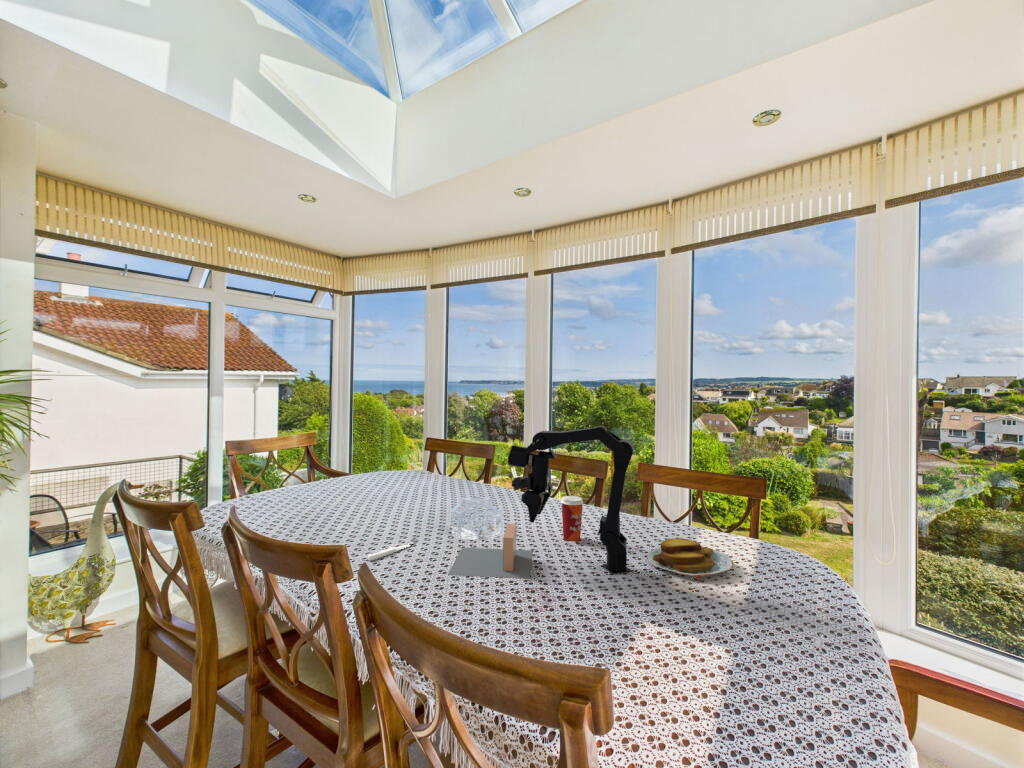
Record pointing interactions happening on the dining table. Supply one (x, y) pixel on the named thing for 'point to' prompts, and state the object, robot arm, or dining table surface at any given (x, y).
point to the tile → (509, 547)
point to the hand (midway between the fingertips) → (535, 518)
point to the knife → (385, 552)
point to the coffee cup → (572, 517)
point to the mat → (490, 563)
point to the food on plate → (689, 558)
